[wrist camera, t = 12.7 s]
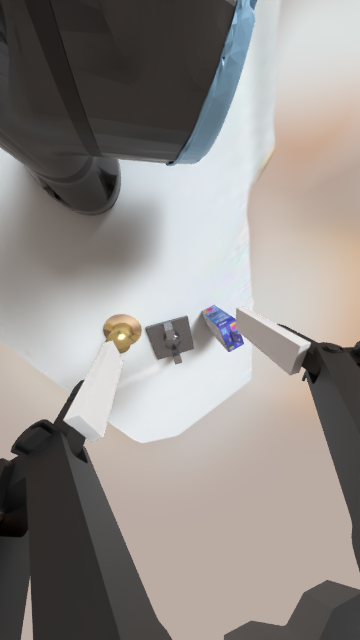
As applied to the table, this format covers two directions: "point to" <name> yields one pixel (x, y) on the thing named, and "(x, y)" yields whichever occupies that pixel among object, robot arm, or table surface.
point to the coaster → (124, 319)
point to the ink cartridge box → (223, 327)
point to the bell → (121, 335)
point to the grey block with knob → (171, 338)
